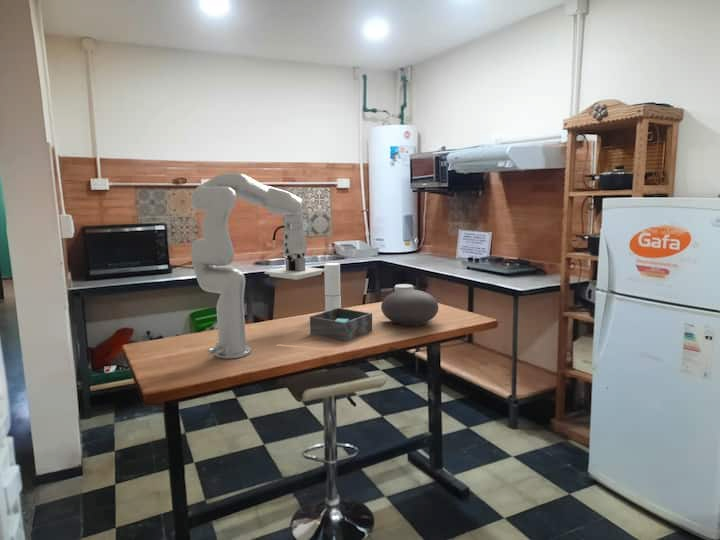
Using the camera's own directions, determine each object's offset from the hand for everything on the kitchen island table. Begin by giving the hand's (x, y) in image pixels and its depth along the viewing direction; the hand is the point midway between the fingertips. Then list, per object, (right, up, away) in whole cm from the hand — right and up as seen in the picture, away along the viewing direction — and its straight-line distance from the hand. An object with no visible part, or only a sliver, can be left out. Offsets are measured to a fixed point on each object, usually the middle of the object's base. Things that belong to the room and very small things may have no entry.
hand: (295, 269), depth 209 cm
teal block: (+20, -26, -9) cm, 34 cm away
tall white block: (+15, -22, +18) cm, 33 cm away
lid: (0, -3, 0) cm, 3 cm away
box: (+20, -27, -9) cm, 35 cm away
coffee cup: (+49, -20, +30) cm, 61 cm away
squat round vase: (+49, -24, +5) cm, 55 cm away
